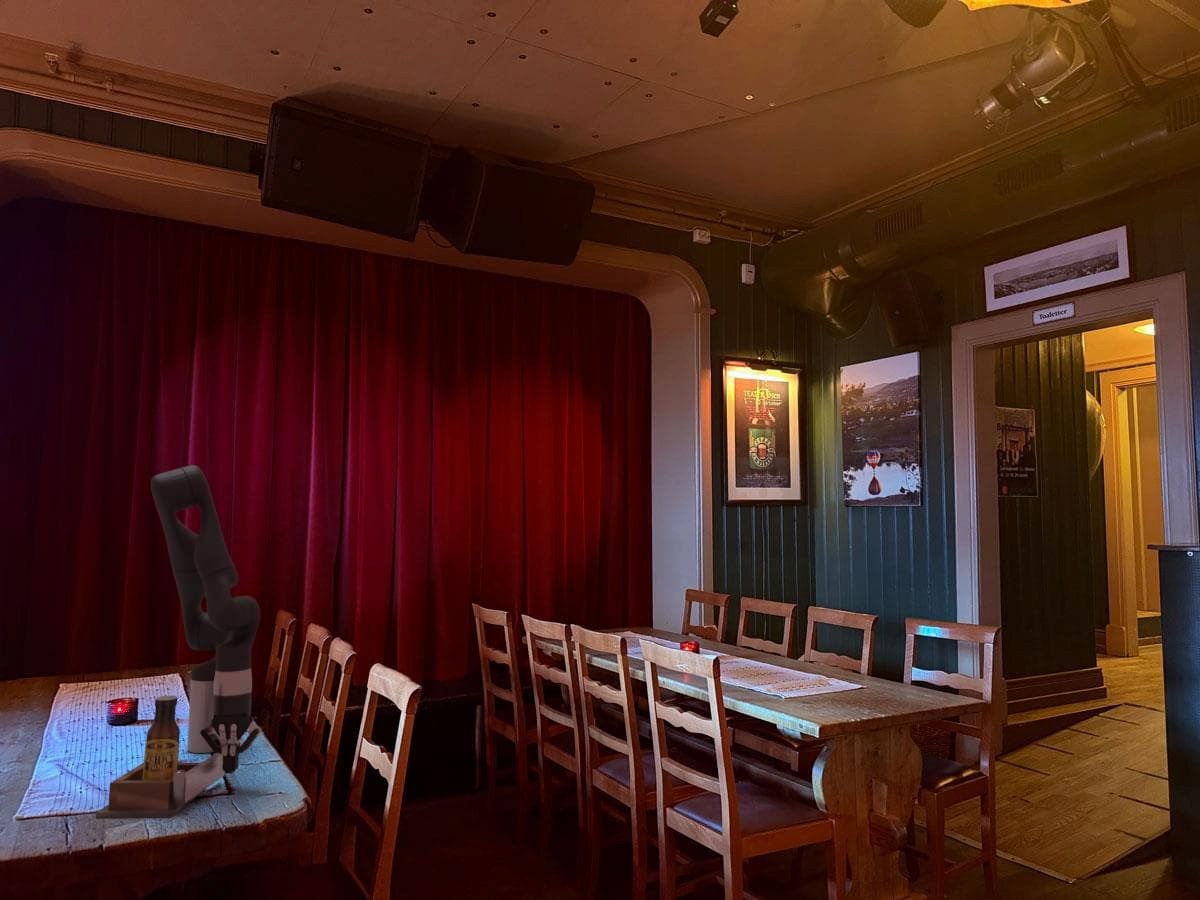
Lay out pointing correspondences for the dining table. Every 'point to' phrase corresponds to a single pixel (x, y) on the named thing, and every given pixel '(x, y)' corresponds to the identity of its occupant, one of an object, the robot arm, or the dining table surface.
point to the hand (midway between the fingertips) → (230, 772)
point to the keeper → (196, 779)
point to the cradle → (142, 796)
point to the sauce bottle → (162, 742)
